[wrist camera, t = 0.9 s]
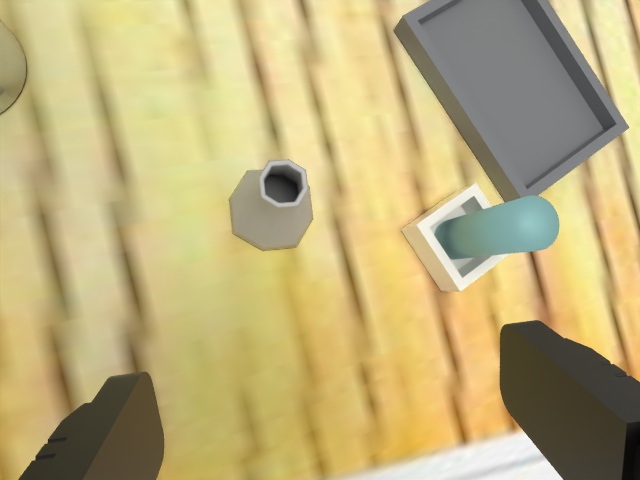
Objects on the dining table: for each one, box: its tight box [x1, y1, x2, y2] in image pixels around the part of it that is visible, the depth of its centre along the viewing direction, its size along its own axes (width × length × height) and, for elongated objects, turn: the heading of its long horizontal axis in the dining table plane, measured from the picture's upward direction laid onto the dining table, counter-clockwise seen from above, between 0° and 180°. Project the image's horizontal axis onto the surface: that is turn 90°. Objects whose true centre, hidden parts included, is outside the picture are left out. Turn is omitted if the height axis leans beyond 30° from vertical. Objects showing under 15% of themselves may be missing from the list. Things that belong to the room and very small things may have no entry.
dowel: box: [434, 195, 559, 260], centre depth 34 cm, size 4×4×11 cm
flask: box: [229, 159, 313, 251], centre depth 32 cm, size 7×7×10 cm
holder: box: [401, 183, 509, 292], centre depth 38 cm, size 7×7×4 cm
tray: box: [394, 0, 629, 202], centre depth 41 cm, size 20×14×2 cm
